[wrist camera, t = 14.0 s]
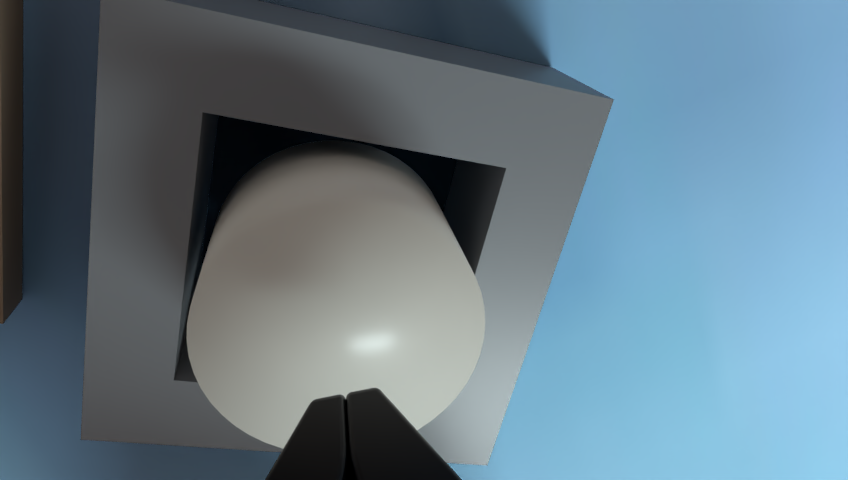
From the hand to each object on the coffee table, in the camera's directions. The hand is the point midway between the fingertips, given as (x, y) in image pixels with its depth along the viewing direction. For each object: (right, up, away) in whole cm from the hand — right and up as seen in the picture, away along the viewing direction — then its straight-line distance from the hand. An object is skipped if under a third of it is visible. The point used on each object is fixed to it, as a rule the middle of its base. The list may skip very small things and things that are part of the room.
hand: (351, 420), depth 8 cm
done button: (-1, +2, +4) cm, 5 cm away
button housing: (-1, +3, +6) cm, 7 cm away
